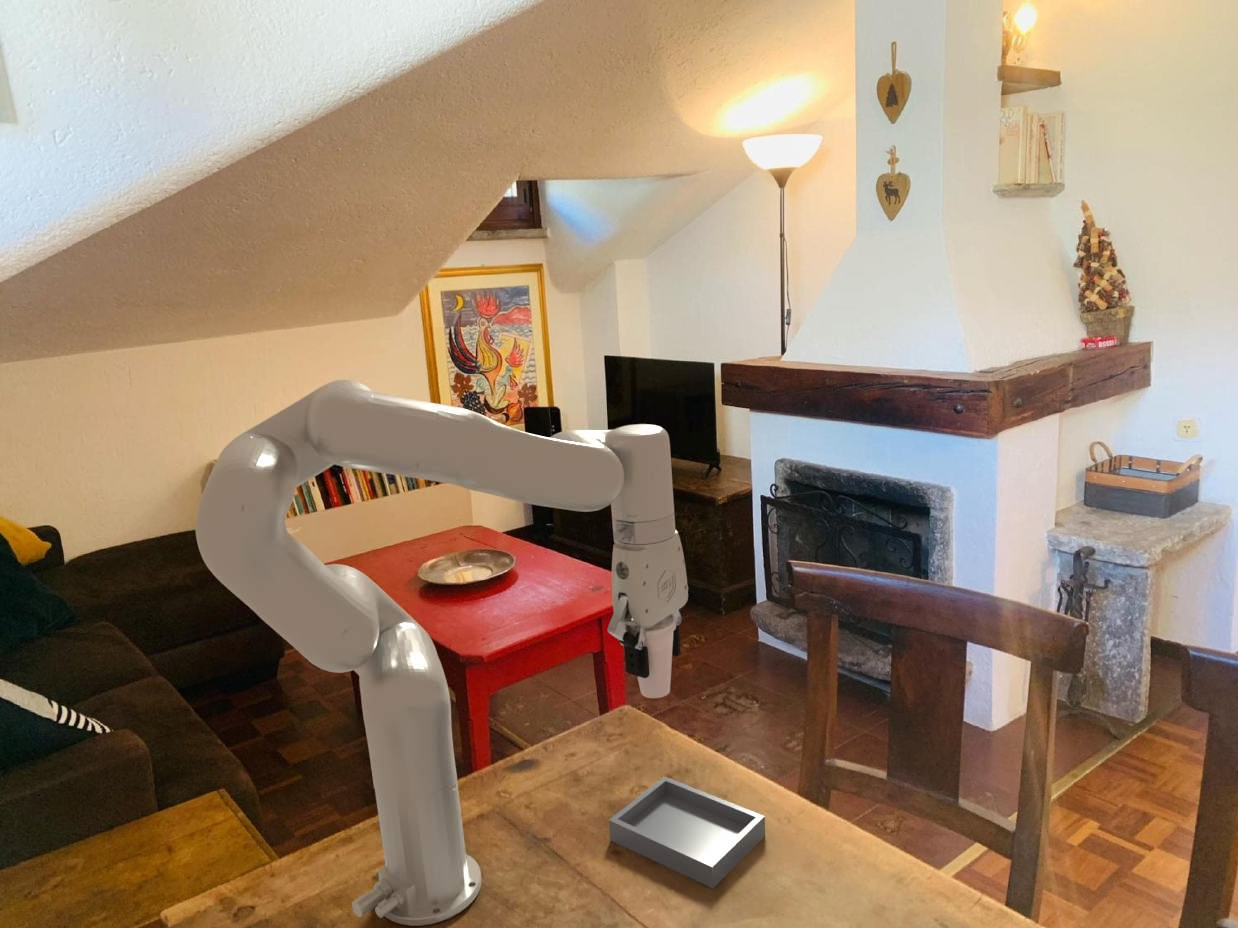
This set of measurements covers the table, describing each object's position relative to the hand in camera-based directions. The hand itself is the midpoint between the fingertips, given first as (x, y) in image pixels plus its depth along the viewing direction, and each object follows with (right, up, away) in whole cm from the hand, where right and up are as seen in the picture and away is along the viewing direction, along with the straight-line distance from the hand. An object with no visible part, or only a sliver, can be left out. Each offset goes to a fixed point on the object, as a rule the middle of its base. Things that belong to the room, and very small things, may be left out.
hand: (653, 662), depth 116 cm
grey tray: (+5, -23, +4) cm, 24 cm away
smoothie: (0, -4, +1) cm, 4 cm away
